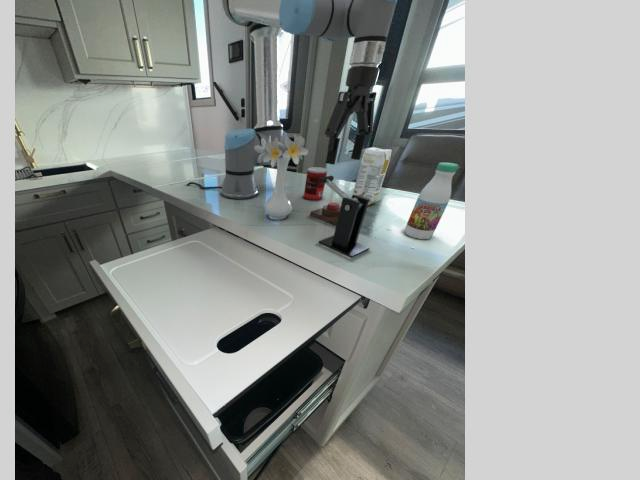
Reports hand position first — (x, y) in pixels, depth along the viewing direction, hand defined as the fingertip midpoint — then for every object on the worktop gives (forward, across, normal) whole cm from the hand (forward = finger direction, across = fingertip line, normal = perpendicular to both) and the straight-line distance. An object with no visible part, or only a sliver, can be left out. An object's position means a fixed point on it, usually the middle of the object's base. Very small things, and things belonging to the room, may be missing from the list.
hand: (343, 161), depth 81 cm
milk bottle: (+18, +12, -24) cm, 33 cm away
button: (+15, 0, 0) cm, 15 cm away
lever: (+5, -15, -11) cm, 19 cm away
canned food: (+18, +14, +20) cm, 31 cm away
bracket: (+18, -15, -16) cm, 28 cm away
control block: (+18, 0, 0) cm, 18 cm away
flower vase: (+18, -14, +13) cm, 27 cm away
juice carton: (+18, +26, +4) cm, 32 cm away
